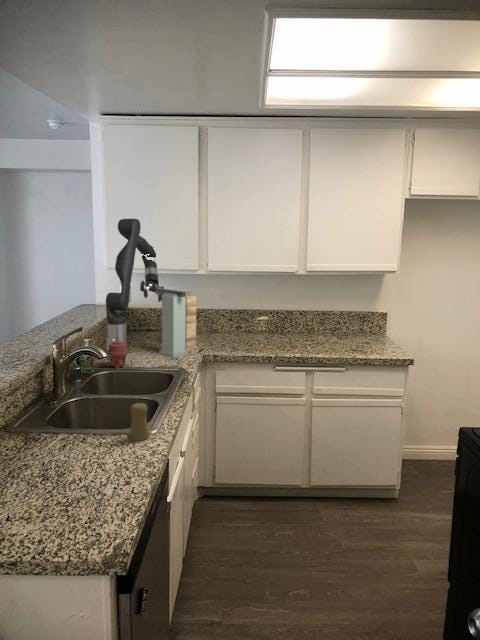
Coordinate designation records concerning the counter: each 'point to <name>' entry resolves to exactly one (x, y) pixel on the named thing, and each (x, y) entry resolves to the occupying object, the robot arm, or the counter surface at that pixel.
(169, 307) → the frame
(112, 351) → the mechanical component
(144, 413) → the cork
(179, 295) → the lever bar
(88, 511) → the counter surface
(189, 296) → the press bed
